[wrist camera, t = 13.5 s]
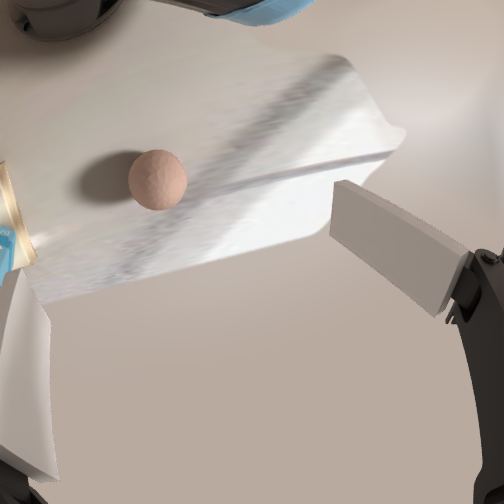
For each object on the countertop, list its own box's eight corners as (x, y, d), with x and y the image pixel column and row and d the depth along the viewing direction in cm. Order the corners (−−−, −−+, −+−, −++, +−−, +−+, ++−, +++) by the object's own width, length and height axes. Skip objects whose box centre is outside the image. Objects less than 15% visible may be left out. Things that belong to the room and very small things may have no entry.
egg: (145, 204, 38) (157, 236, 31) (115, 166, 34) (118, 189, 26) (185, 173, 39) (209, 198, 31) (159, 133, 34) (175, 147, 27)
